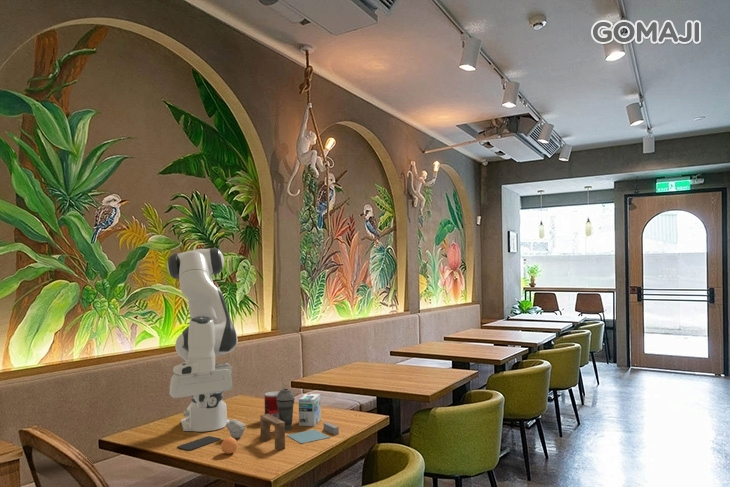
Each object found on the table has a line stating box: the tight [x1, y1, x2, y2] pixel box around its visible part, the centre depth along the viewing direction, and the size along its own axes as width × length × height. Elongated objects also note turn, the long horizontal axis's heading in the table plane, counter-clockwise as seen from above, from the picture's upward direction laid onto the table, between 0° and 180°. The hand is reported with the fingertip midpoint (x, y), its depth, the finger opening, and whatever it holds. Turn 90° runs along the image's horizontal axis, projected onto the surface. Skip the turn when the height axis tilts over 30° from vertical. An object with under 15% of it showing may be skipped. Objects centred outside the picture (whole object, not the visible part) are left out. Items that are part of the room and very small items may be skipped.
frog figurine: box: [226, 418, 246, 439], centre depth 199 cm, size 6×7×7 cm
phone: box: [176, 435, 222, 452], centre depth 193 cm, size 7×1×15 cm
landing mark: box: [286, 428, 331, 445], centre depth 199 cm, size 12×12×1 cm
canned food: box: [264, 390, 281, 419], centre depth 223 cm, size 8×8×11 cm
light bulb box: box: [298, 393, 322, 427], centre depth 218 cm, size 11×7×11 cm, turn 170°
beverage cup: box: [276, 377, 295, 432], centre depth 209 cm, size 7×7×20 cm
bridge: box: [259, 413, 286, 451], centre depth 191 cm, size 3×14×9 cm, turn 34°
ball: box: [220, 436, 238, 455], centre depth 182 cm, size 5×5×5 cm
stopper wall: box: [323, 422, 340, 436], centre depth 205 cm, size 8×2×2 cm, turn 34°
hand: (201, 407), depth 177 cm, fingers closed
